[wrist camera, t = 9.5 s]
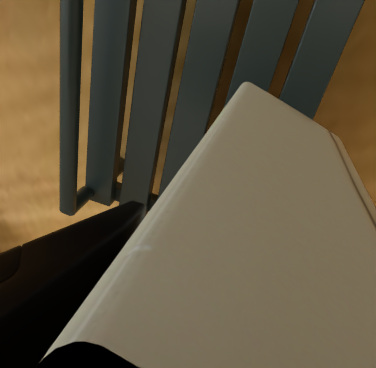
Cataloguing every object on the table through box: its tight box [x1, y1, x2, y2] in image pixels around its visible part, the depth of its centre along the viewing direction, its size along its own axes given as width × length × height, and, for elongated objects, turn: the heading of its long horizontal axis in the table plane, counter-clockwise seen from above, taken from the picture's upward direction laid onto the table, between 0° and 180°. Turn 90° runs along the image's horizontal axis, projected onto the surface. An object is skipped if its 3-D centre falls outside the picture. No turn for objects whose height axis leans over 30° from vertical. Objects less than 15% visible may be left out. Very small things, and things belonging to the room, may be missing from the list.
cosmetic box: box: [36, 82, 376, 368], centre depth 8 cm, size 6×4×12 cm
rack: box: [60, 0, 365, 216], centre depth 17 cm, size 12×16×7 cm
